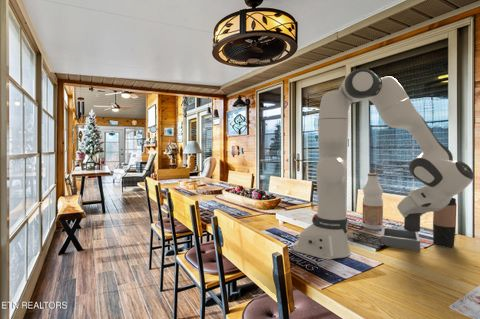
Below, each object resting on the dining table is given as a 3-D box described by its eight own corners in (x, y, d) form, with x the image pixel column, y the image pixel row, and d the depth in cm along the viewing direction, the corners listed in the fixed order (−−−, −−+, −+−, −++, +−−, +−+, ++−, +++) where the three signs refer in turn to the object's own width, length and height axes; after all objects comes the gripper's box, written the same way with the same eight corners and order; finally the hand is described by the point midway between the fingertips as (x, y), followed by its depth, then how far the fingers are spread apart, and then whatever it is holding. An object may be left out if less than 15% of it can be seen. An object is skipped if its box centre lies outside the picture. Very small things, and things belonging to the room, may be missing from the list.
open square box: (380, 245, 117) (380, 235, 116) (382, 235, 129) (382, 227, 128) (420, 251, 110) (420, 241, 109) (417, 240, 122) (417, 231, 122)
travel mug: (452, 249, 111) (453, 200, 110) (430, 244, 117) (431, 197, 116) (457, 244, 116) (458, 198, 115) (435, 240, 122) (436, 195, 121)
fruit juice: (370, 230, 136) (371, 174, 135) (358, 225, 145) (359, 173, 144) (386, 229, 138) (387, 174, 137) (373, 224, 147) (374, 172, 146)
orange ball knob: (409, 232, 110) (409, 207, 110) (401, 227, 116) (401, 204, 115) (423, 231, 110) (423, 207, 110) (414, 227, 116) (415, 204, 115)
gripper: (448, 187, 108) (425, 207, 118) (407, 190, 103) (386, 210, 113) (460, 201, 104) (435, 220, 114) (417, 204, 99) (395, 224, 109)
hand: (410, 215), depth 113 cm, fingers closed on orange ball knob, 5 cm apart
